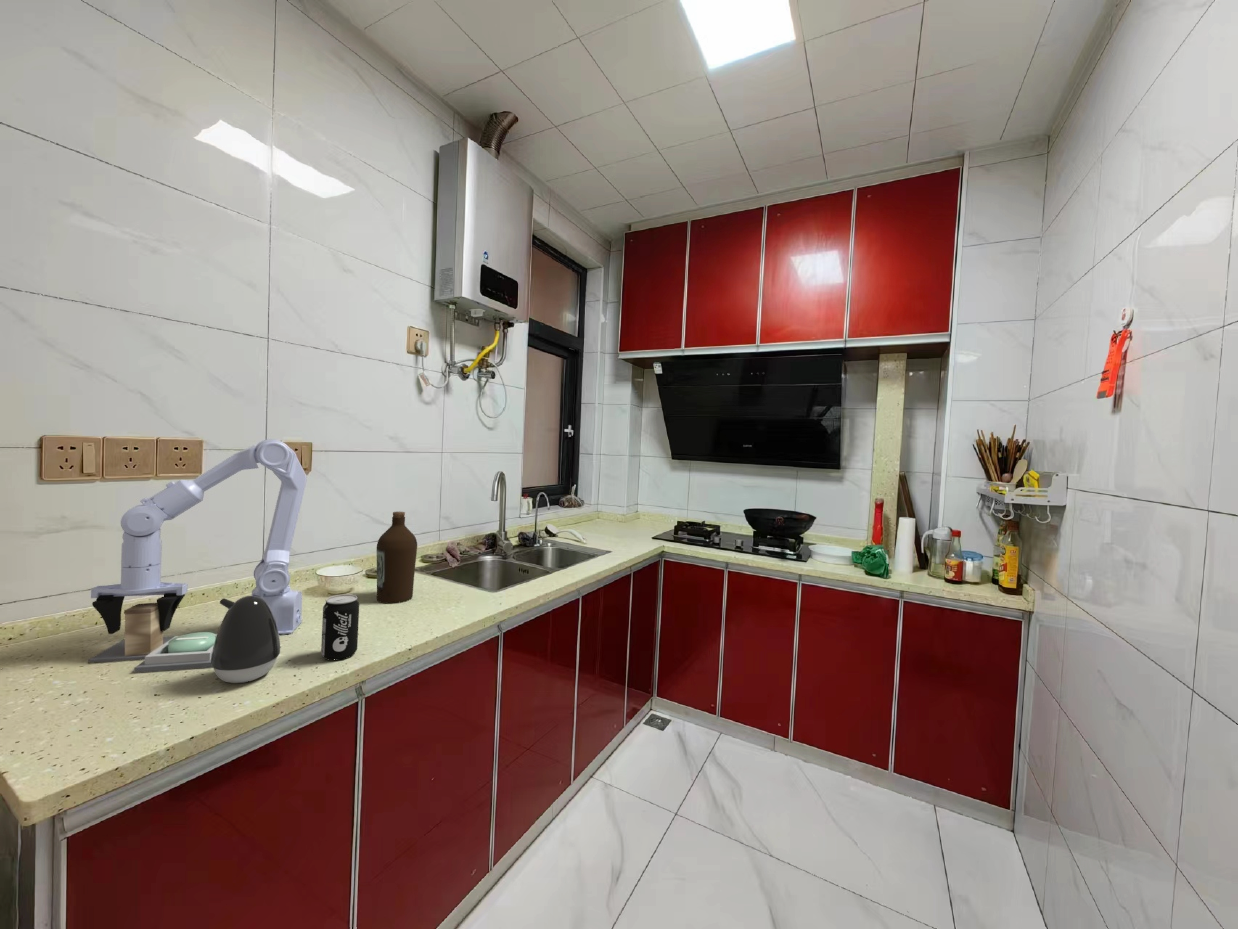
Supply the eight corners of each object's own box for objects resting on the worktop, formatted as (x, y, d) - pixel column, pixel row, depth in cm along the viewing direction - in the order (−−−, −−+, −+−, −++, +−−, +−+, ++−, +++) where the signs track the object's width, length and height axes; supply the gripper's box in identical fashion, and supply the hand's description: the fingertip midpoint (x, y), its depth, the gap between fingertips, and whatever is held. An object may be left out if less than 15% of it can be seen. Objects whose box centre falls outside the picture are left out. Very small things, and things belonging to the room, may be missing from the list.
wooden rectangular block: (163, 645, 97) (163, 602, 97) (150, 654, 94) (150, 608, 93) (138, 647, 96) (138, 603, 96) (124, 656, 92) (124, 610, 92)
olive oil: (410, 591, 144) (414, 509, 143) (418, 601, 136) (422, 514, 135) (371, 595, 138) (375, 510, 137) (377, 606, 129) (381, 515, 129)
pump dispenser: (240, 662, 94) (243, 586, 94) (292, 666, 94) (295, 590, 93) (193, 687, 84) (196, 602, 83) (250, 692, 84) (253, 607, 83)
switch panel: (240, 642, 103) (241, 631, 103) (213, 667, 91) (213, 654, 91) (171, 646, 99) (172, 634, 99) (134, 673, 88) (134, 659, 87)
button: (221, 642, 100) (221, 630, 99) (204, 657, 93) (204, 643, 93) (180, 645, 97) (180, 632, 97) (159, 660, 91) (159, 646, 91)
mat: (182, 638, 103) (182, 636, 103) (154, 658, 93) (154, 655, 93) (123, 642, 100) (123, 639, 100) (88, 663, 90) (88, 660, 90)
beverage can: (364, 651, 102) (366, 596, 102) (337, 664, 96) (339, 605, 95) (341, 646, 104) (343, 591, 104) (313, 657, 98) (315, 600, 97)
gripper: (196, 559, 102) (194, 621, 102) (109, 560, 97) (107, 625, 98) (177, 567, 95) (175, 634, 96) (83, 569, 91) (81, 639, 91)
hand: (139, 630), depth 96 cm, fingers open, 7 cm apart
